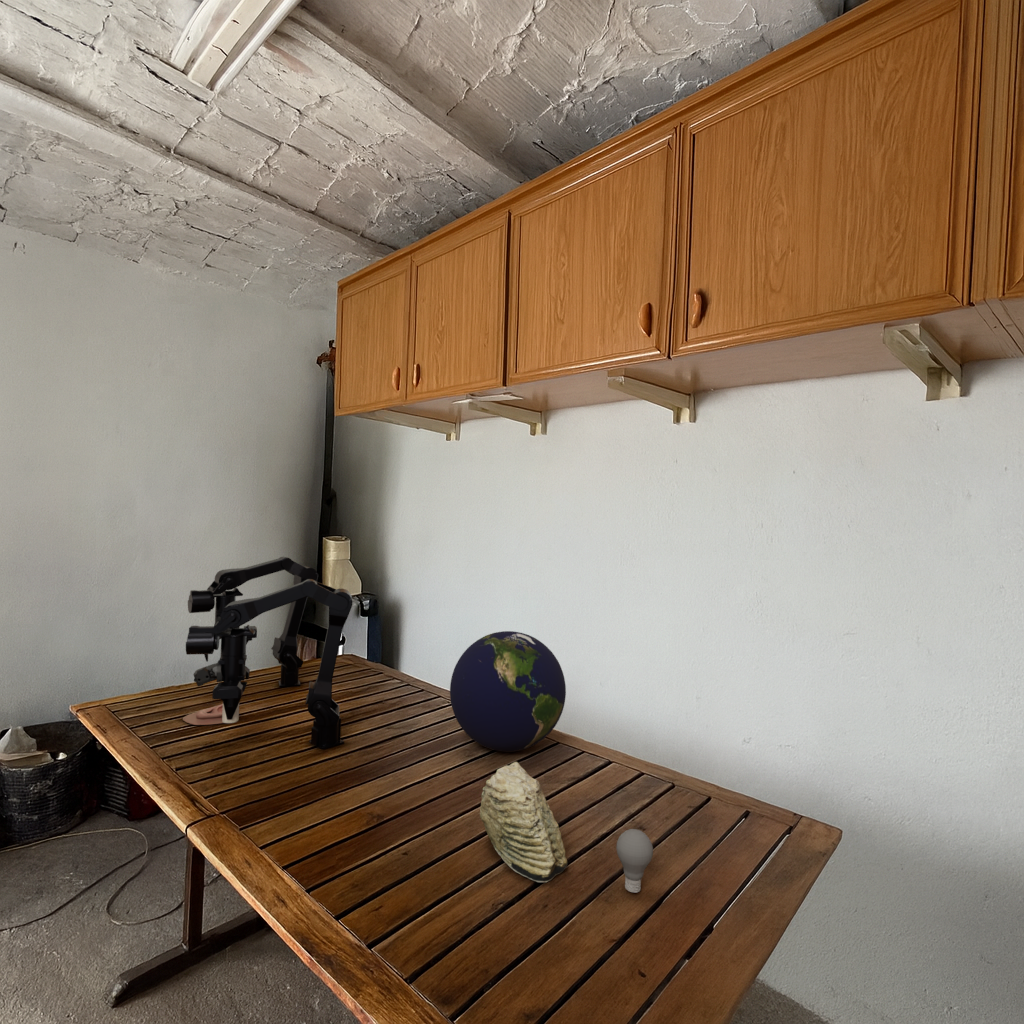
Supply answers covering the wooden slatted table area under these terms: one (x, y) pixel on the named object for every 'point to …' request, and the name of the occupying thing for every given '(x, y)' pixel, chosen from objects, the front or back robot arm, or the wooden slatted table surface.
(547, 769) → the wooden slatted table surface
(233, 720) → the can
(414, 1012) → the wooden slatted table surface
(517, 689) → the globe
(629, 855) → the light bulb
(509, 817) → the fossil
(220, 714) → the anatomical model
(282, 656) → the back robot arm
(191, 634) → the front robot arm
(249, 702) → the wooden slatted table surface
